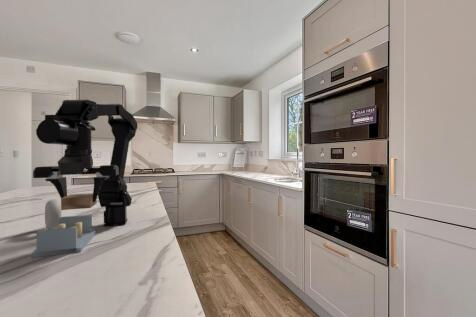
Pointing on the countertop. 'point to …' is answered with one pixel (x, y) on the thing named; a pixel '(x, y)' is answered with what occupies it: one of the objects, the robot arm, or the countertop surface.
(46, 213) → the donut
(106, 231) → the countertop surface
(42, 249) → the peg stand
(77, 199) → the walnut block
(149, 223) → the countertop surface
